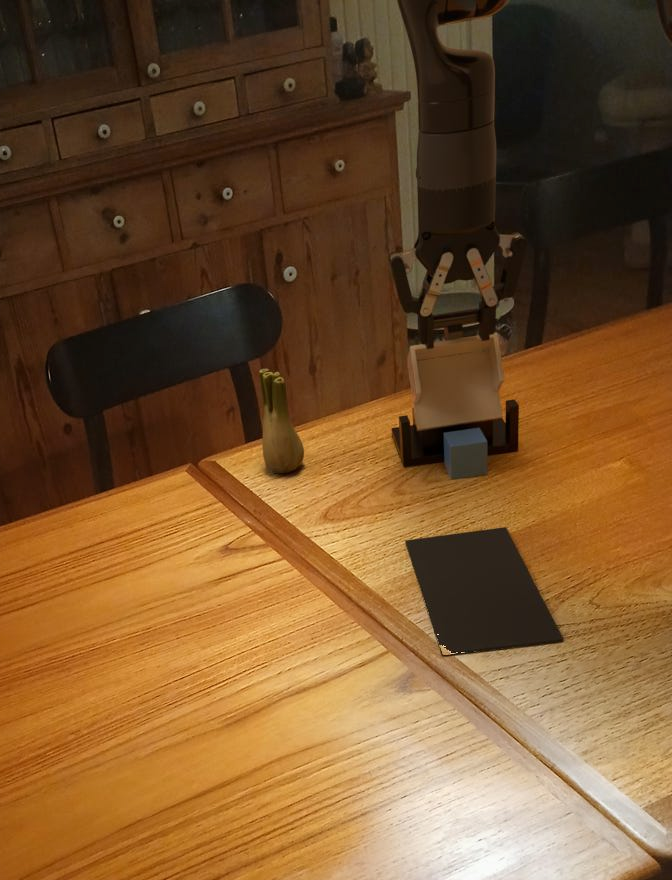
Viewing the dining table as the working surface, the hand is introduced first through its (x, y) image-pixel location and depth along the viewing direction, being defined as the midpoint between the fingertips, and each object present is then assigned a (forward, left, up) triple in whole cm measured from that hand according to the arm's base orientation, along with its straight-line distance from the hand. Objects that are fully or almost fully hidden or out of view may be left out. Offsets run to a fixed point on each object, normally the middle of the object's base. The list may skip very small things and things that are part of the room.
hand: (456, 341), depth 107 cm
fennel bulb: (+20, -3, -14) cm, 24 cm away
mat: (+4, +29, -13) cm, 32 cm away
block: (0, +2, -11) cm, 12 cm away
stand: (0, -3, -13) cm, 14 cm away
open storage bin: (0, -3, -5) cm, 6 cm away
